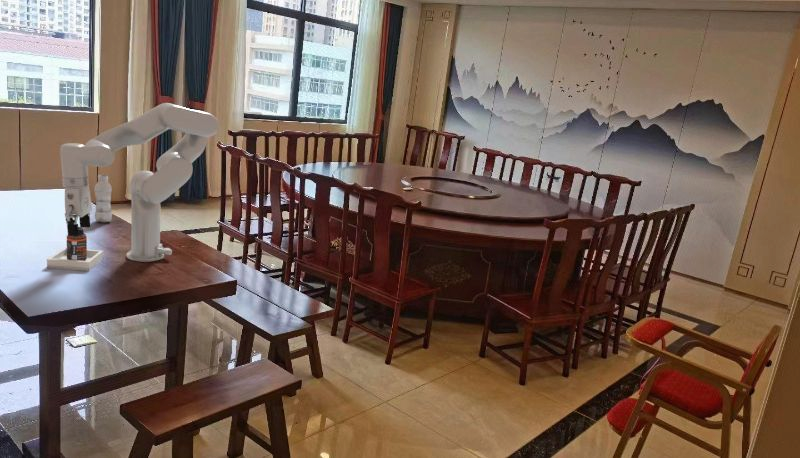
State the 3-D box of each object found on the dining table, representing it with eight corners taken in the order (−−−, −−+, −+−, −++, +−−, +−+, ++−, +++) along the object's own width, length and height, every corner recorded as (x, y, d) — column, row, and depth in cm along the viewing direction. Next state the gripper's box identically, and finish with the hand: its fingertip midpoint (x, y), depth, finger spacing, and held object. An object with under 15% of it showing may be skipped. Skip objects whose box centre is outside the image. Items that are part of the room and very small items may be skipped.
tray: (103, 258, 205) (103, 250, 204) (89, 270, 192) (89, 262, 191) (64, 255, 203) (64, 247, 202) (47, 267, 190) (46, 259, 189)
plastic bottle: (115, 222, 248) (115, 176, 244) (100, 224, 243) (99, 177, 238) (106, 219, 252) (106, 173, 247) (91, 221, 246) (90, 174, 241)
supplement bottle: (78, 264, 194) (77, 231, 191) (62, 261, 195) (61, 228, 192) (90, 259, 200) (90, 227, 197) (75, 256, 201) (75, 224, 198)
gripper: (77, 187, 183) (80, 239, 188) (97, 176, 199) (100, 224, 204) (51, 186, 182) (56, 238, 187) (74, 175, 198) (78, 223, 203)
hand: (79, 231), depth 195 cm, fingers open, 9 cm apart
